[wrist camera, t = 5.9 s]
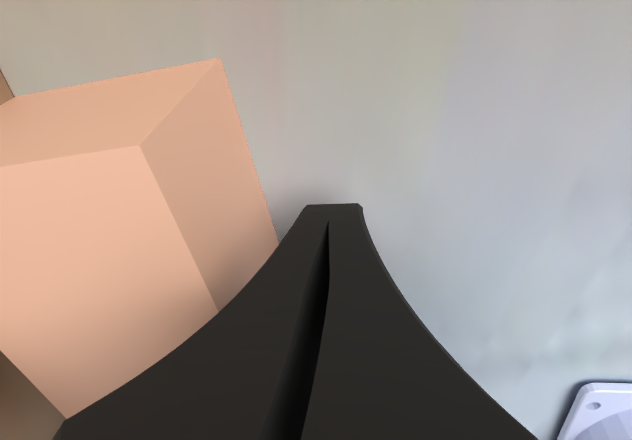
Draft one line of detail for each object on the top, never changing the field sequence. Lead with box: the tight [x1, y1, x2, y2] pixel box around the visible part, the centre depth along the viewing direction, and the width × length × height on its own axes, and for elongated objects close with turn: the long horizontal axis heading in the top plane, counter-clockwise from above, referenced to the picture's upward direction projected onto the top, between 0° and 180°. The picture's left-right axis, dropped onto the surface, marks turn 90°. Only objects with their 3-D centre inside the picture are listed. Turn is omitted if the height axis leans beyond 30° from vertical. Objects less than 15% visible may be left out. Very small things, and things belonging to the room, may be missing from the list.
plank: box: [0, 71, 66, 440], centre depth 16 cm, size 24×2×6 cm, turn 5°
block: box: [0, 58, 279, 419], centre depth 12 cm, size 8×6×5 cm
